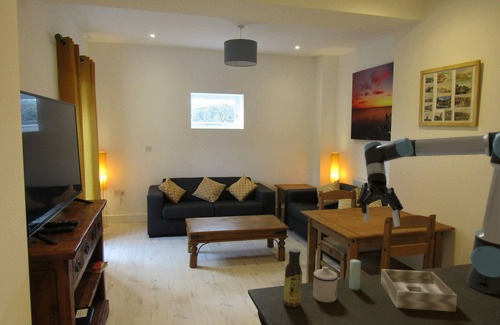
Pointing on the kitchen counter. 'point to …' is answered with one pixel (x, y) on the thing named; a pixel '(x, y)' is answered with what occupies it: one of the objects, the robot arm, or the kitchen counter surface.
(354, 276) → the peg
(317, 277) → the teacup with lid
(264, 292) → the kitchen counter surface
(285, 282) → the sauce bottle
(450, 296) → the box
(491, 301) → the kitchen counter surface
